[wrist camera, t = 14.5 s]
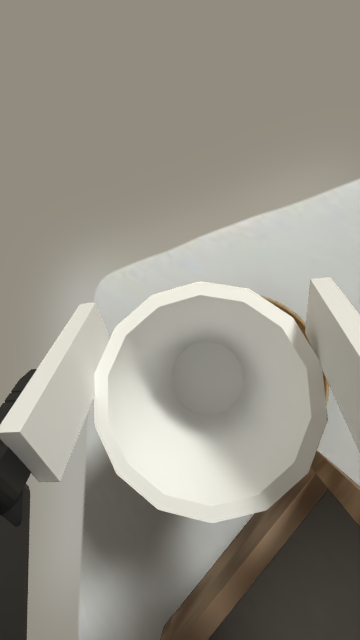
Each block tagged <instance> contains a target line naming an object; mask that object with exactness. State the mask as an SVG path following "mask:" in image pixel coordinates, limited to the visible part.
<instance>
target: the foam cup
mask: <svg viewBox="0 0 360 640" xmlns="http://www.w3.org/2000/svg"><path fill="white" fill-rule="evenodd" d="M94 379H95V395H94V425H95V427H96V430H97V432H98V434H99V436H100V439H101V441H102V443H103V445H104V447H105V450H106V452H107V454H108V456H109V458H110V461H111V463H112V465H113V467H114V470H115V472H116V474H117V475H118V476H119V477H121V478H122V479H123V480H124V481H125V482H126V483H128V484H129V485H130V486H131V487H132V488H133V489H135V490H136V491H137V492H138V493H139V494H140V495H142V496H143V497H144V498H145V499H146V500H147V501H149V502H150V503H151V504H152V505H153V506H154V507H156V508H157V509H158V510H161V511H165V512H169V513H173V514H177V515H181V516H185V517H188V518H192V519H196V520H200V521H204V522H208V523H216V522H220V521H225V520H229V519H233V518H237V517H241V516H245V515H250V514H254V513H258V512H262V511H266V510H267V509H269V508H270V507H271V506H272V505H273V504H274V503H275V502H276V501H278V500H279V499H280V498H281V497H282V496H283V495H284V494H285V493H286V492H288V491H289V490H290V489H291V488H292V487H293V486H294V485H295V484H296V483H298V482H299V481H300V480H301V479H302V478H303V477H304V476H305V475H306V474H308V472H309V470H310V467H311V464H312V461H313V459H314V456H315V453H316V451H317V448H318V445H319V442H320V440H321V437H322V434H323V432H324V429H325V426H326V423H327V421H328V417H327V408H326V399H325V390H324V380H323V371H322V368H321V366H320V361H319V359H318V357H317V356H316V354H315V352H314V351H313V349H312V348H311V346H310V344H309V343H308V341H307V339H306V338H305V336H304V335H303V333H302V331H301V330H300V328H299V327H298V325H297V323H296V322H295V320H294V318H293V317H291V316H290V315H288V314H287V313H285V312H284V311H282V310H281V309H279V308H278V307H276V306H275V305H273V304H272V303H270V302H269V301H267V300H266V299H264V298H263V297H261V296H259V295H258V294H256V293H255V292H253V291H252V290H250V289H248V288H241V287H235V286H228V285H222V284H215V283H208V282H202V281H198V282H195V283H191V284H188V285H184V286H181V287H177V288H174V289H171V290H167V291H164V292H160V293H157V294H153V295H151V296H150V297H149V298H148V299H147V300H146V301H145V302H143V303H142V304H141V305H140V306H139V307H138V308H137V309H135V310H134V311H133V312H132V313H131V314H130V315H129V316H127V317H126V318H125V319H124V320H123V321H122V322H121V323H119V324H118V325H117V326H116V327H115V329H114V331H113V333H112V335H111V337H110V340H109V342H108V344H107V346H106V348H105V351H104V353H103V355H102V357H101V360H100V362H99V364H98V366H97V368H96V371H95V373H94Z"/></svg>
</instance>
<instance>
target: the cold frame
mask: <svg viewBox="0 0 360 640" xmlns="http://www.w3.org/2000/svg"><path fill="white" fill-rule="evenodd" d="M328 489H329V490H330V491H331V492H332V494H333V495H334V496H335V497H336V499H337V500H338V501H339V502H340V503H341V505H342V506H343V507H344V508H345V509H346V511H347V512H348V513H349V514H350V516H351V517H352V518H353V519H354V520H355V522H356V523H357V524H358V525H359V526H360V486H359V485H358V484H356V483H355V482H354V481H353V480H352V479H351V478H349V477H348V476H347V475H346V474H345V473H343V472H342V471H341V470H340V469H339V468H337V467H336V466H335V465H334V464H333V463H331V462H330V461H329V460H328V459H327V458H325V457H324V456H323V455H322V454H321V453H320V452H318V451H316V453H315V456H314V459H313V461H312V464H311V467H310V470H309V472H308V474H306V475H305V476H304V477H303V478H302V479H301V480H300V481H299V482H298V483H296V484H295V485H294V486H293V487H292V488H291V489H290V490H289V491H288V492H286V493H285V494H284V495H283V496H282V497H281V498H280V499H279V500H278V501H276V502H275V503H274V504H273V505H272V506H271V507H270V508H269V509H267V510H266V511H262V512H258V513H255V514H254V515H253V517H252V518H251V519H250V520H249V522H248V523H247V524H246V525H245V527H244V528H243V529H242V530H241V532H240V533H239V534H238V535H237V537H236V538H235V539H234V540H233V542H232V543H231V544H230V545H229V547H228V548H227V549H226V550H225V551H224V553H223V554H222V555H221V556H220V558H219V559H218V560H217V561H216V563H215V564H214V565H213V566H212V568H211V569H210V570H209V571H208V573H207V574H206V575H205V576H204V578H203V579H202V580H201V581H200V583H199V584H198V585H197V586H196V588H195V589H194V590H193V591H192V592H191V594H190V595H189V596H188V597H187V599H186V600H185V601H184V602H183V604H182V605H181V606H180V607H179V609H178V610H177V611H176V612H175V614H174V615H173V616H172V617H171V619H170V620H169V621H168V622H167V624H166V625H165V626H164V628H163V632H162V635H161V639H160V640H208V639H209V638H210V636H211V635H212V634H213V633H214V631H215V630H216V629H217V628H218V626H219V625H220V624H221V623H222V621H223V620H224V619H225V617H226V616H227V615H228V614H229V612H230V611H231V610H232V609H233V607H234V606H235V605H236V604H237V602H238V601H239V600H240V599H241V597H242V596H243V595H244V594H245V592H246V591H247V590H248V589H249V587H250V586H251V585H252V584H253V582H254V581H255V580H256V579H257V577H258V576H259V575H260V574H261V572H262V571H263V570H264V569H265V567H266V566H267V565H268V564H269V562H270V561H271V560H272V559H273V557H274V556H275V555H276V554H277V552H278V551H279V550H280V549H281V547H282V546H283V545H284V544H285V542H286V541H287V540H288V539H289V537H290V536H291V535H292V534H293V532H294V531H295V530H296V529H297V527H298V526H299V525H300V524H301V522H302V521H303V520H304V519H305V517H306V516H307V515H308V514H309V512H310V511H311V510H312V509H313V507H314V506H315V505H316V504H317V502H318V501H319V500H320V499H321V497H322V496H323V495H324V493H325V492H326V491H327V490H328Z"/></svg>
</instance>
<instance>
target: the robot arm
mask: <svg viewBox="0 0 360 640" xmlns="http://www.w3.org/2000/svg"><path fill="white" fill-rule="evenodd" d="M305 333H306V336H307V338H308V340H309V342H310V344H311V347H312V349H313V351H314V352H315V354H316V356H317V357H318V359H319V361H320V366H321V368H322V371H323V373H324V375H325V377H326V379H327V382H328V384H329V386H330V388H331V390H332V392H333V395H334V397H335V399H336V401H337V403H338V406H339V408H340V410H341V412H342V414H343V416H344V419H345V421H346V423H347V425H348V427H349V430H350V432H351V434H352V436H353V438H354V441H355V443H356V445H357V447H358V449H359V451H360V315H359V314H358V312H357V311H356V310H355V308H354V307H353V306H352V305H351V303H350V302H349V301H348V299H347V298H346V297H345V295H344V294H343V293H342V292H341V290H340V289H339V288H338V286H337V285H336V284H335V282H334V281H333V280H332V279H331V277H326V278H317V279H310V288H309V297H308V307H307V317H306V326H305ZM109 340H110V338H109V335H108V333H107V330H106V327H105V325H104V322H103V320H102V317H101V315H100V312H99V310H98V307H97V304H96V302H95V303H86V304H80V305H79V307H78V308H77V310H76V311H75V313H74V314H73V316H72V317H71V319H70V320H69V322H68V323H67V325H66V326H65V328H64V329H63V331H62V332H61V334H60V335H59V337H58V338H57V340H56V341H55V343H54V344H53V346H52V347H51V349H50V350H49V352H48V353H47V355H46V357H45V358H44V359H43V361H42V362H41V364H40V366H39V367H38V369H33V370H30V371H29V372H28V373H27V374H26V375H25V376H23V377H22V378H21V379H20V380H19V381H18V383H17V384H16V385H15V387H14V388H13V390H12V393H10V394H9V396H8V397H7V398H6V400H5V403H3V404H2V405H1V407H0V640H26V639H27V598H28V596H27V595H28V558H29V517H30V516H29V515H30V490H29V487H28V485H27V484H26V482H27V479H28V478H29V476H30V473H32V475H33V476H34V477H35V478H36V479H37V480H38V481H39V482H60V481H61V479H62V476H63V474H64V471H65V469H66V466H67V464H68V461H69V458H70V456H71V454H72V451H73V448H74V446H75V443H76V441H77V438H78V436H79V433H80V431H81V428H82V426H83V423H84V421H85V418H86V416H87V413H88V411H89V408H90V406H91V403H92V401H93V398H94V395H95V379H94V373H95V371H96V368H97V366H98V364H99V362H100V360H101V357H102V355H103V353H104V351H105V348H106V346H107V344H108V342H109Z"/></svg>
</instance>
